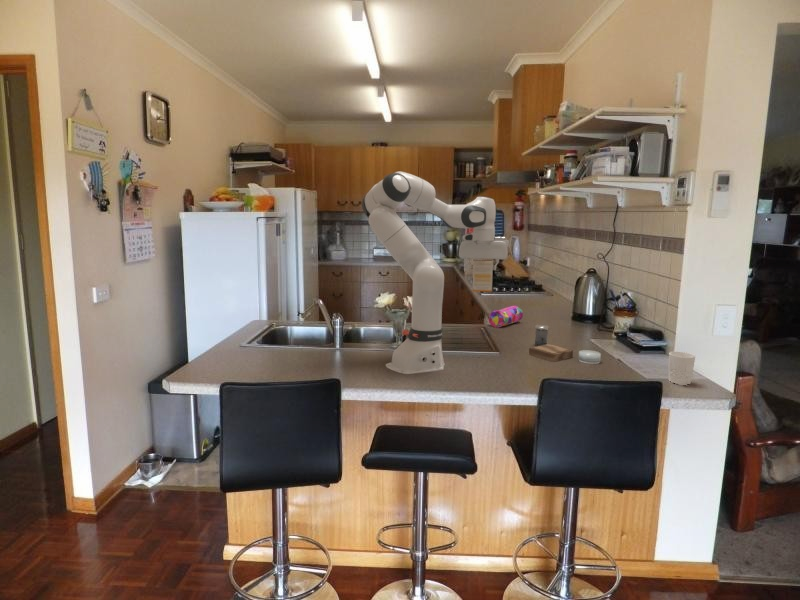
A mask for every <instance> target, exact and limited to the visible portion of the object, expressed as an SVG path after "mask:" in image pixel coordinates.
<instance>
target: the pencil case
mask: <svg viewBox="0 0 800 600" xmlns="http://www.w3.org/2000/svg"><path fill="white" fill-rule="evenodd" d="M523 316H524V311H523V310H522V309H521V308H520V306H519V307H518V306H517V305H512V306H507V307H504V308H501V309H499V310H498V309H497V310H496V309H495V310H493V311H491V312H490V313H489V318H488V322H489V324H490V326H491V327H494V328H501V327H505V326H509V325H511V324H514V323H517V322H519V321H520V322H521V320H522V318H523Z"/></svg>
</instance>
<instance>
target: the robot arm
mask: <svg viewBox="0 0 800 600" xmlns="http://www.w3.org/2000/svg"><path fill="white" fill-rule="evenodd" d="M436 196H437V195H436V189H435V187H434V185H432V183H430V182H428V181H427V180H425V179H424V178H422V177H419V176H418V175H417V176H416V175H414V174H411V173H409V172H405V171H400V170H399V171H395V172H392V173H389V174H387V175H385V176H384V178H383V179H381V180H380V181H378V183H376V184H374V185H373V186H372V187H371V189H369V191H368V192H367V193H365V194H364V196H363V198H362V200H361V209H362V211H363V213H364V215H365V216H366V217H367V221H368V224H369V227H370V228H371V230H372V232H373V234H374V235H375V237H376V238H377V240H378V241H379V242H380V243H381V244H382V246H383V247H384V249H386V250H387V252H388V253H389V255H390V256H391V257H392V258H393V259H394V261H395V262H397V264H398V265H399V266H400V267H401V269H402V270H403V271H404V272H405V273H406V275H408V277H410V279H411V280H412V295H411V296H412V297H411V299H412V300H411V327H410V328H409V330H408V329H403V330H402V332H401V334H402V335H404V336H406V337H407V338H406V339H405V340H404V341H403V342H402V343H401V344H400V345H399V346H398V347H396V349H395V350H393V352H392V355H391V356H392V358H391V362H388V363H386V364H385V368H386V369H388V370H391V371H393V372H396V373H399V374H405V375H410V374H411V375H413V374H422V373H429V372H437V371H443V370H444V367H445V365H446V364H445V361H444V360H445V359H444V356H443V355H444V354H443V347H442V345H443V344H442V339H443V327H442V324H443V323H442V319H443V317H442V315H443V313H442V312H443V300H444V288H445V275H444V271H443V269H442V267H441V266H439V264H438V262H437V261H436V260H435V258H434V257H432V255H431V254H430V252H429V251H428V250H427V248H425V246H424V245H423V244H422V243H421V242H420V240H419V238H418V237H417V236H416V235H415V234H414V232H413V231H412V230H411V229H410V228H409V225H407V224H406V222H405V221H404V220H403V219H402V218H401V217H400V216H399V215H398V214H397V211H396V209H397V208H398V207H399V206H400V205H401V204H402V203H404V204H405V205H408V206H410V207H413V208H415V209H418V210H422V211H426V212H427V213H429V214H432V215H433V216H436V217H437V218H439V219H440V220H441V221H442V223H444V225H445V226H446V227H448V228H450V229H473V232H469V233H465V234H463V235H462V241H461V242H460V245H459V249H458V257H459V258H460V259H466V262H467V264H468V269H469V270H473V264H472V263H471V259H475V260H495V265H493V271H497V266H498V264H499V263H500V260H507V259H508V256H509V255H508V248H509V247H510V240H509V238H507V237H506V236H496V227H495V222H496V214H497V213H496V211H497V210H496V208H497V207H496V202H495V199H493V198H491V197H489V196H481V195H479V196H477V197H476V198H475V199H474V200H472V201H470V202H467V203H466V204H458V203H457V204H456V203H455V204H454V203H453V204H452V203H450V204H447V203H445V202H443V201H442V200H440V199H438V198H436Z"/></svg>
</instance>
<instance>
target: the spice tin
mask: <svg viewBox="0 0 800 600" xmlns="http://www.w3.org/2000/svg"><path fill="white" fill-rule="evenodd" d="M534 327H535V334H534V335H535V337H534V338H535V339H534V347H537V346H542V345H546V344H548V332H549V326H548V325H543V324H536V325H535V326H534Z"/></svg>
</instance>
